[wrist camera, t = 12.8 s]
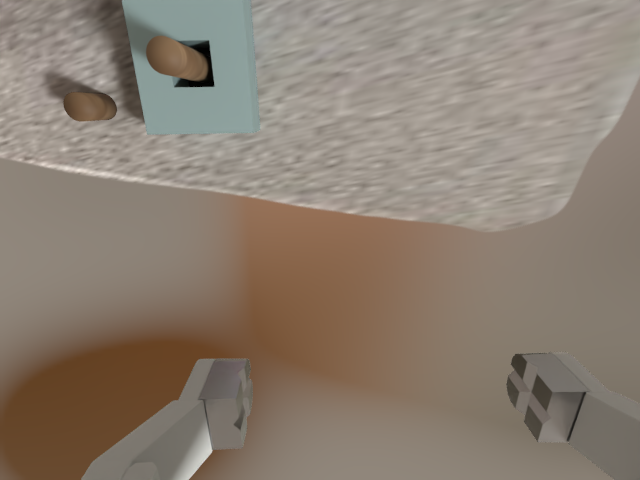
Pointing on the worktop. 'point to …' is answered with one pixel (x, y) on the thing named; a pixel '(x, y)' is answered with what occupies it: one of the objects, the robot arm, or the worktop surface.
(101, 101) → the short dowel
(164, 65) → the long dowel
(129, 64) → the worktop surface
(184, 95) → the hole block
